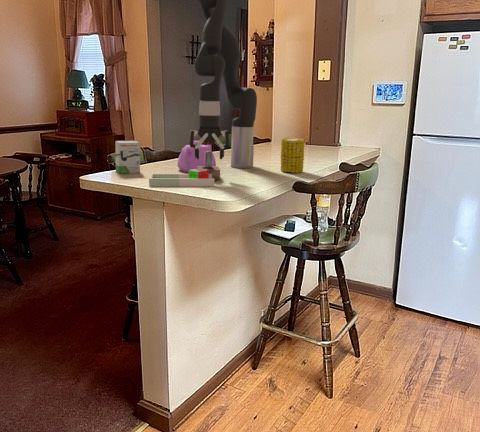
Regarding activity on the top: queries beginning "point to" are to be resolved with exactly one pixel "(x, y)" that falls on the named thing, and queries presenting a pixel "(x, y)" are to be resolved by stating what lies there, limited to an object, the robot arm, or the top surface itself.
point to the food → (292, 155)
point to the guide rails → (195, 180)
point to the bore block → (212, 172)
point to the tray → (163, 180)
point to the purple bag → (193, 157)
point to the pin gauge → (208, 160)
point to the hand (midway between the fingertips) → (209, 159)
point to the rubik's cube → (198, 173)
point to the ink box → (127, 156)
